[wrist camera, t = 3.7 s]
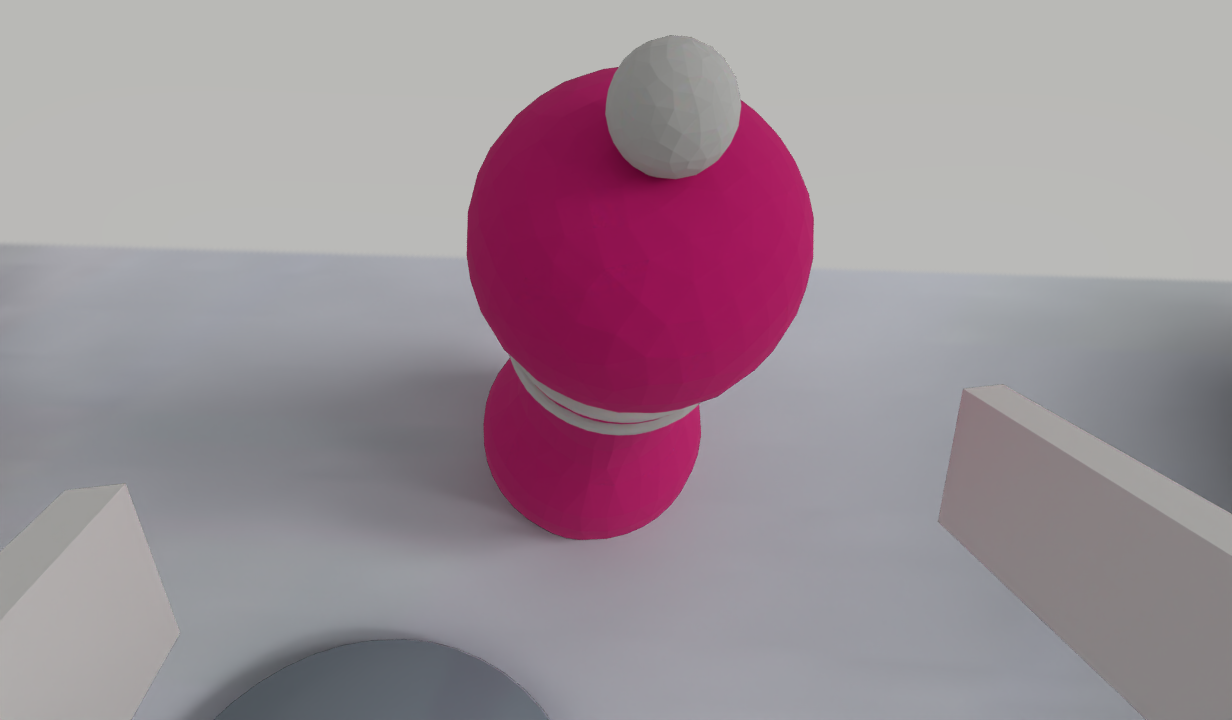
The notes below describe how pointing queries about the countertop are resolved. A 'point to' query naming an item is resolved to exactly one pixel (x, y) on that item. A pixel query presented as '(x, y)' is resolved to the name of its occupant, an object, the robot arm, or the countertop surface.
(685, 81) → the pepper mill
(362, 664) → the saucer
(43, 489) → the countertop surface
